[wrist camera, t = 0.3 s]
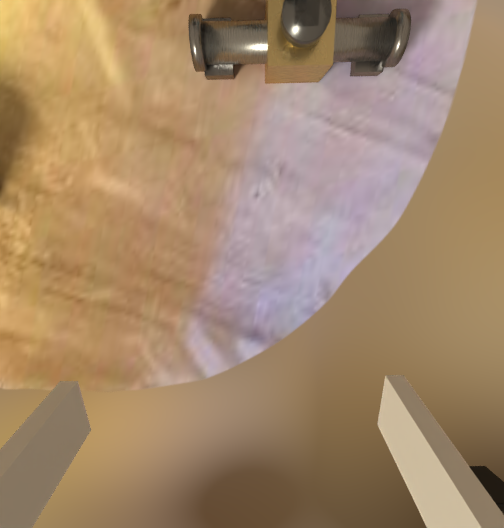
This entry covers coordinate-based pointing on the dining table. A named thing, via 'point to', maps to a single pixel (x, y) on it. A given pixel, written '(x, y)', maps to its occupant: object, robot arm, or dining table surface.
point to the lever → (305, 21)
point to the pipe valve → (294, 58)
